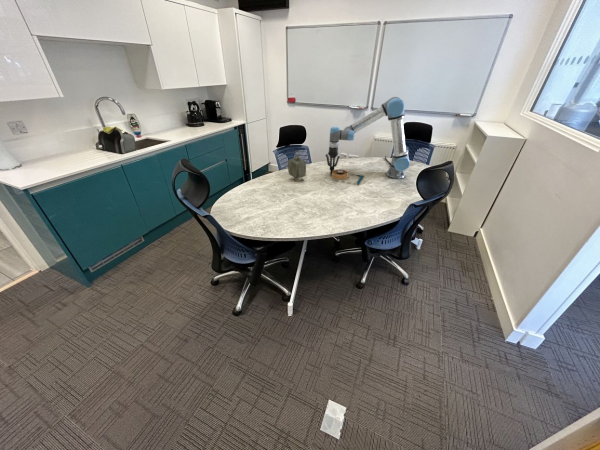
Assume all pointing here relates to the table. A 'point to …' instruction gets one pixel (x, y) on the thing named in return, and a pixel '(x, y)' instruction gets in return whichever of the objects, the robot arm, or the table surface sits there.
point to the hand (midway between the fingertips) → (331, 173)
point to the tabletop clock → (297, 167)
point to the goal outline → (359, 179)
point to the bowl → (344, 176)
